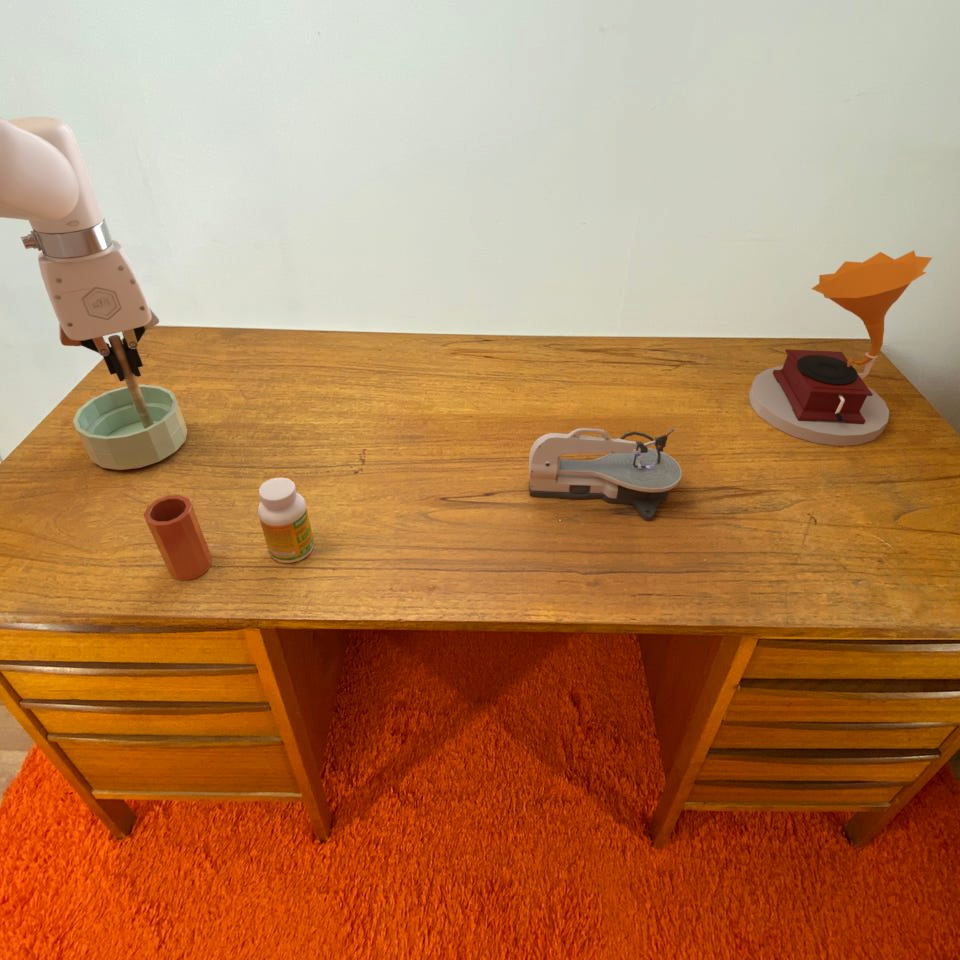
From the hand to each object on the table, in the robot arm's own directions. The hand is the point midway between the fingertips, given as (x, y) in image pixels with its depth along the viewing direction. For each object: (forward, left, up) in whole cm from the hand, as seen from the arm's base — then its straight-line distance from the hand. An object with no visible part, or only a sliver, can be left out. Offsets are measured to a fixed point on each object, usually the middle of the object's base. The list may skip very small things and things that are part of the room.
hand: (128, 373), depth 87 cm
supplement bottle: (+9, -32, -11) cm, 35 cm away
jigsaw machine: (+48, -45, -11) cm, 66 cm away
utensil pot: (-2, -28, -11) cm, 30 cm away
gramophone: (+91, -49, -11) cm, 104 cm away
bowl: (-2, 0, -11) cm, 11 cm away
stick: (0, 0, -10) cm, 10 cm away
